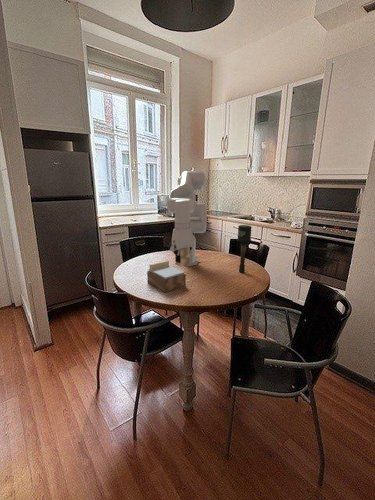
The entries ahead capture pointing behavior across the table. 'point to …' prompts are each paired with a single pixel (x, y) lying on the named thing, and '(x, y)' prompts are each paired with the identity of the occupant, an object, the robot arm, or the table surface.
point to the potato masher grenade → (243, 243)
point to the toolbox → (166, 282)
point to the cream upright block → (183, 257)
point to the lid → (164, 270)
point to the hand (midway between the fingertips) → (182, 260)
